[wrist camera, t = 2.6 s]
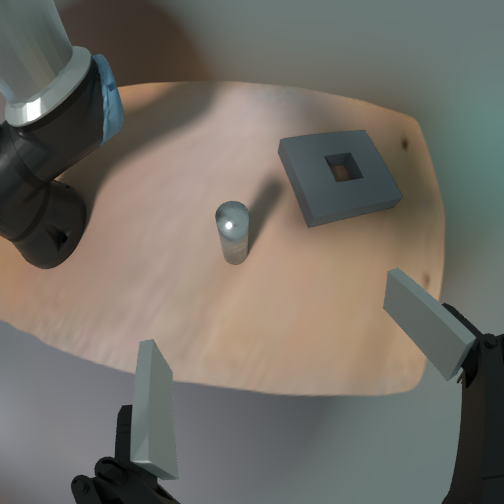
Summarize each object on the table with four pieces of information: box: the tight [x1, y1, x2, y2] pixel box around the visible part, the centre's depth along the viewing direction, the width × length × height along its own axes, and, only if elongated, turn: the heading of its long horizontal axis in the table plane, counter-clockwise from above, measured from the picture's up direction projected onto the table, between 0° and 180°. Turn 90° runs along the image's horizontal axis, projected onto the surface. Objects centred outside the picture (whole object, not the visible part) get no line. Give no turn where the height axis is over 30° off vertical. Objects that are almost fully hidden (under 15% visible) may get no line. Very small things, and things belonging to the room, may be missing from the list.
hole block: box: [278, 130, 403, 228], centre depth 40 cm, size 16×14×4 cm
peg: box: [215, 201, 249, 265], centre depth 31 cm, size 3×3×12 cm
